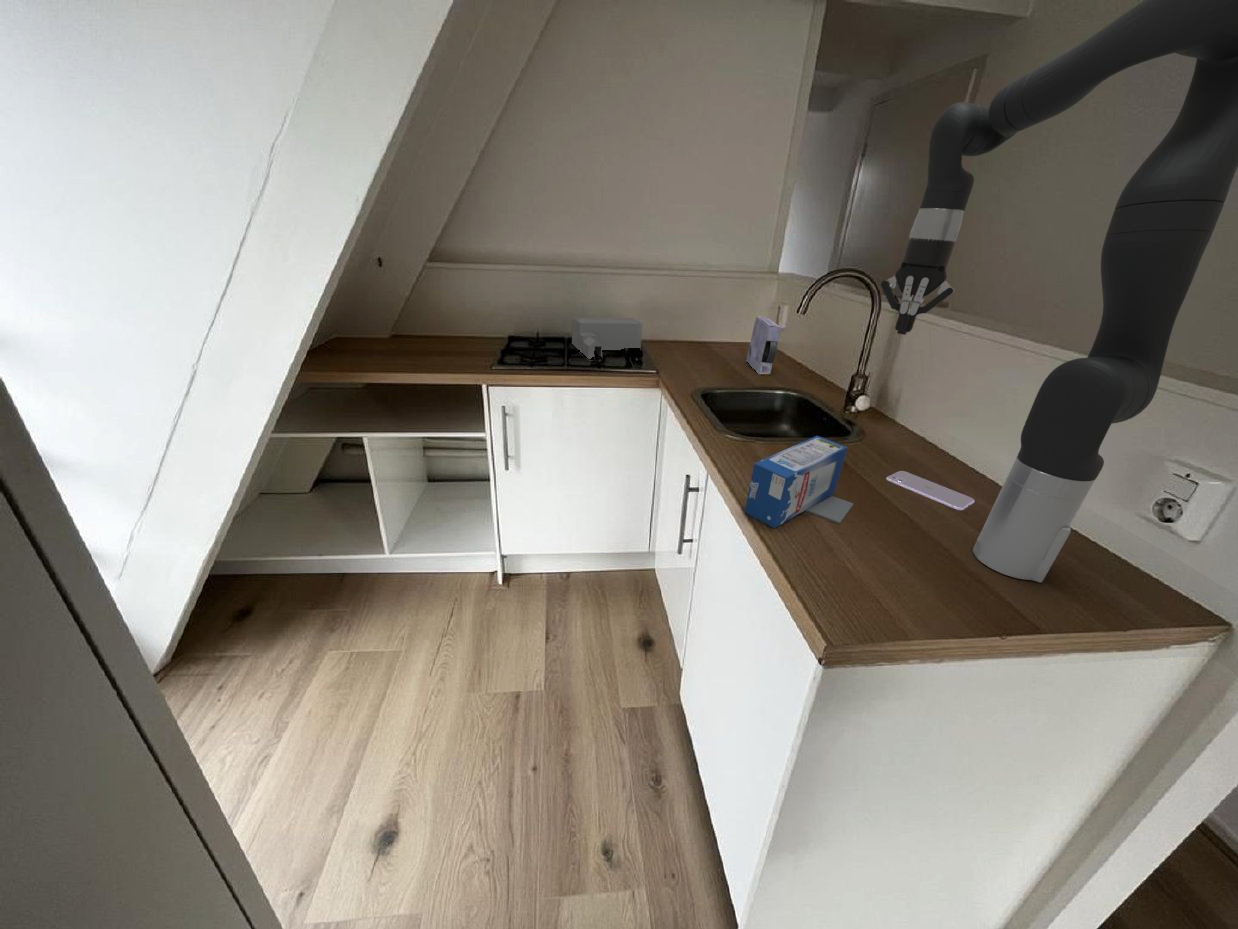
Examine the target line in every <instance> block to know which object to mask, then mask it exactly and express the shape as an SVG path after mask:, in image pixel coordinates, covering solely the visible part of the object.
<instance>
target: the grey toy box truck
mask: <svg viewBox="0 0 1238 929" xmlns="http://www.w3.org/2000/svg"><path fill="white" fill-rule="evenodd" d="M571 323H572V329H571V345H572V344H573V345H574V346H575V347H576V348H577V349H578V350H580V352H581V353H583V354H584V355H585V356H586V357H587V358H588V359H591V358H592V357H594V358H595V354H594V351H596V352H597V353H598V355H599V356H601V357H602V358H603V352H602V350H621V349H624V348H640V349H641V346H642V334H643V323H642V322H640V321H638V320H637V319H635V318H634V317H633V318H630V317H629V318H628V317H626V318H625V317H580V316H579V317H578V316H577V317H575V316H574V317H572V322H571ZM580 352H579V353H580ZM581 353H580V354H581ZM587 358H586V359H587ZM588 359H587V360H588Z"/></svg>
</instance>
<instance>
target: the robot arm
mask: <svg viewBox="0 0 1238 929" xmlns="http://www.w3.org/2000/svg"><path fill="white" fill-rule="evenodd" d="M1171 54H1177V55H1180V56H1184V57H1189V58H1194V59H1196V61H1195V67H1194V71H1193V75H1192V78H1191V81H1190V83H1189V86H1188V90H1187V93H1186V95H1185V99H1184V101H1183V103H1182V107H1181V109H1180V111H1179V113H1178V115H1177V117H1176V119H1175V121H1174V123H1173V125H1172V126H1171V128H1170V129H1169V131H1168V132H1167V133H1166V135H1165V136H1164V138H1163V139H1162V140H1161V141H1160V142H1159V144H1158V145H1157V146H1156V147H1155V148H1154V150H1153V151H1152V152H1151V153H1150V154H1149V155H1148V156H1147V158H1146V159H1145V160H1144V161H1143V162H1142V164H1141V165H1140V166H1139V167H1138V168H1137V170H1136V171H1135V173H1134V174H1133V175H1132V176H1131V178H1130V179H1129V180H1128V182H1127V183H1126V185H1125V186H1124V188H1123V190H1122V191H1121V193H1120V195H1119V197H1118V200H1117V202H1116V204H1115V207H1114V211H1113V213H1112V217H1111V219H1110V222H1109V225H1108V228H1107V231H1106V234H1105V238H1104V240H1103V245H1102V249H1101V253H1100V255H1101V256H1100V277H1101V278H1100V280H1101V291H1102V302H1103V304H1102V316H1101V322H1100V324H1099V328H1098V331H1097V333H1096V336H1095V340H1094V341H1093V344H1092V346H1091V349H1090V351H1089V353H1088V355H1087V357H1078V358H1073V359H1071V360H1068V361H1065V362H1063V363H1061V364H1059V365H1058V366H1056V367H1055V368H1054V369H1052V371H1051V372H1050V373H1049V374H1048V375H1047V376H1046V378H1045V379H1044V381H1043V382H1042V384H1041V385H1040V387H1039V389H1038V392H1037V394H1036V396H1035V398H1034V401H1033V403H1032V405H1031V408H1030V411H1029V413H1028V415H1027V418H1026V420H1025V422H1024V425H1023V428H1022V430H1021V434H1020V449H1019V451H1018V454H1017V456H1016V457H1015V460H1014V461H1013V464H1012V466H1011V468H1010V471H1009V472H1008V475H1007V477H1006V479H1005V481H1004V483H1003V485H1002V487H1001V489H1000V491H999V493H998V495H997V498H996V500H995V501H994V503H993V506H992V508H991V510H990V512H989V514H988V517H987V518H986V521H985V523H984V525H983V527H982V530H981V531H980V533H979V535H978V537H977V539H976V542H975V543H974V544H975V545H974V546H973V549H972V553H973V554H974V556H975V558H976V559H977V560H978V561H979V562H981V564H984V565H985V566H987V567H988V568H990V569H991V570H993V571H996V572H998V573H1000V574H1002V575H1005V576H1009V577H1011V578H1015V579H1021V580H1026V581H1033V582H1037V583H1042V584H1043V581H1044V580H1045V578H1046V576H1047V574H1048V573H1049V570H1050V569H1051V567H1052V565H1053V564H1054V562H1055V560H1056V558H1057V557H1058V555H1059V553H1060V551H1061V550H1062V548H1063V546H1064V544H1065V543H1066V541H1067V539H1068V538H1069V536H1070V535H1071V533H1072V530H1071V529H1072V528H1071V524H1072V522H1073V521H1074V518H1075V517H1076V515H1077V513H1078V511H1079V509H1080V508H1081V506H1082V504H1083V502H1084V500H1085V499H1086V497H1087V495H1088V494H1089V492H1090V490H1091V489H1092V487H1093V485H1094V483H1095V481H1096V480H1097V478H1098V476H1099V475H1100V473H1101V471H1102V469H1103V467H1104V465H1105V461H1104V458H1103V457H1102V455H1101V454H1100V453H1099V451H1100V448H1101V446H1102V443H1103V441H1104V439H1105V438H1106V436H1107V434H1108V432H1109V429H1110V428H1111V425H1112V424H1119V423H1122V422H1126V421H1128V420H1131V419H1133V418H1135V417H1136V416H1138V415H1140V414H1141V413H1142V412H1143V411H1144V410H1145V409H1146V408H1147V407H1148V406H1149V405H1150V404H1151V402H1152V401H1153V399H1154V397H1155V395H1156V393H1157V389H1158V386H1159V382H1160V380H1161V375H1162V371H1163V368H1164V361H1165V359H1166V354H1167V351H1168V350H1167V349H1168V347H1169V343H1170V339H1171V336H1172V332H1173V328H1174V325H1175V322H1176V320H1177V317H1178V314H1179V312H1180V310H1181V307H1182V305H1183V303H1184V301H1185V299H1186V296H1187V294H1188V291H1189V289H1190V288H1191V284H1192V282H1193V279H1194V277H1195V275H1196V273H1197V270H1198V267H1199V264H1200V262H1201V261H1202V257H1203V256H1204V253H1205V251H1206V248H1207V246H1208V245H1209V242H1210V239H1211V237H1212V235H1213V232H1214V230H1215V227H1216V225H1217V223H1218V220H1219V218H1220V216H1221V213H1222V210H1223V209H1224V206H1225V203H1226V200H1227V197H1228V194H1229V191H1230V188H1231V185H1232V182H1233V179H1234V177H1235V175H1236V172H1237V169H1238V0H1142V1H1140V2H1139V3H1137V4H1136V5H1133V7H1132V8H1130V9H1128V10H1127V11H1126V12H1124V13H1123V14H1121V15H1120V16H1119V17H1117V18H1116V19H1114V20H1113V21H1111V22H1110V23H1108V24H1106V26H1104V27H1103V28H1101V29H1100V30H1099V31H1096V33H1093V34H1092V35H1091V36H1090V37H1088V38H1087V39H1085V40H1084V41H1082V42H1081V43H1079V44H1077V45H1076V46H1074V47H1072V48H1071V49H1069V50H1067V51H1066V52H1064V53H1062V54H1061V55H1059V56H1057V57H1055V58H1054V59H1051V60H1050V61H1048V62H1046V63H1044V64H1042V65H1041V66H1038V67H1037V68H1034V69H1032V70H1031V71H1029V72H1027V73H1025V74H1023V75H1022V76H1020V77H1018V78H1016V79H1015V80H1013V81H1011V82H1009V83H1007V84H1006V85H1005V86H1003V87H1002V88H1001V89H1000V90H999V91H998V92H997V93H995V95H994V97H993V98H992V100H991V103H990V105H982V104H978V103H977V104H976V103H971V102H964V101H963V102H962V101H961V102H959V101H958V102H955V103H952V104H951V105H949V106H948V107H947V108H946V109H944V110H943V112H942V113H941V114H940V115H939V117H938V118H937V120H936V121H935V124H933V125H934V126H933V127H932V131H931V133H930V138H929V146H928V161H927V163H928V165H927V183H926V187H925V191H924V193H923V197H922V200H921V203H920V206H919V209H918V211H917V212H918V213H917V215H916V216H915V219H914V223H913V225H912V228H911V230H910V232H909V237H908V241H907V244H906V247H905V251H904V254H903V258H902V261H901V264H900V266H899V268H897V270H896V272H895V273H894V275H893V276H892V277H890V278H888V279H885V280H882V281H881V282H880V286H881V288H882V291H883V293H884V295H885V298H886V299H887V302H888V304H889V306H890V308H891V310H895V311H897V312H898V318H897V321H896V324H895V327H894V328H895V331H897V332H896V333H897V334H898V335H905V336H906V335H907V334H908V333H910V332H911V331H912V330H913V328H914V325H915V322H916V318H917V316H918V315H921V314H927V313H928V312H930V311H931V310H933V309H934V308H935V307H937V306H938V305H939V304H940V303H942V302H943V301H944V300H946V299H947V298H948V297H950V296H952V295H953V294H954V293H955V292H956V291H955V290H956V289H955V287H953V286H951V285H950V284H949V282H947V281H946V280H947V278H948V277H947V268H948V265H949V262H950V259H951V256H952V253H953V251H954V247H955V245H956V242H957V238H958V236H959V232H960V229H961V227H962V223H963V219H964V218H963V217H964V214H965V210H966V208H967V204H968V201H969V198H970V195H971V193H972V189H973V186H974V183H975V177H974V175H973V174H972V173H970V171H967V170H966V169H965V168H964V167H963V157H978V156H981V155H984V154H987V153H989V152H992V151H993V150H995V149H997V148H998V147H1000V146H1001V145H1002V144H1004V143H1005V142H1006V141H1008V140H1010V139H1011V138H1012V137H1014V136H1015V135H1016V134H1018V133H1019V132H1020V131H1021V132H1022V131H1023V130H1026V129H1028V128H1031V127H1033V126H1035V125H1038V124H1040V123H1042V122H1044V121H1047V120H1048V119H1051V118H1054V117H1055V116H1057V115H1059V114H1061V113H1063V112H1065V111H1067V110H1069V109H1070V108H1072V107H1073V106H1075V105H1076V104H1077V103H1079V102H1080V101H1081V100H1083V99H1084V98H1085V97H1086V96H1087V95H1089V94H1090V93H1091V92H1092V91H1093V90H1094V89H1095V88H1096V87H1098V86H1099V85H1100V84H1101V83H1103V82H1104V81H1106V80H1108V79H1109V78H1110V77H1112V76H1114V75H1116V74H1118V73H1120V72H1122V71H1124V70H1126V69H1128V68H1130V67H1133V66H1136V65H1139V64H1142V63H1145V62H1148V61H1150V60H1153V59H1158V58H1161V57H1164V56H1168V55H1171ZM896 282H897V284H896ZM897 285H898V287H899V290H900V292H901V293H902V298H901V302H900V300H899V298H898V296H897V294H896V292H895V290H894V289H895V288H896V286H897ZM938 288H939V289H938ZM937 289H938V290H937ZM935 290H937V294H938V295H937V296H936V297H935V298H933V299H932V300H930V301H929V302H928V303H926V304H925V305H923V304H922V303H923V302H924V300H925V297H927V296H929V295H930V294H932V293H933V292H934V291H935ZM913 297H914V298H913ZM912 300H913V301H912ZM911 304H912V305H911ZM922 305H923V306H922Z"/></svg>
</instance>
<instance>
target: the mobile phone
mask: <svg viewBox="0 0 1238 929" xmlns="http://www.w3.org/2000/svg"><path fill="white" fill-rule="evenodd" d="M885 479H886V481H888V482H891V483H892V484H895V485H897V486H900V487H902V488H904V489H906V490H910V491H912V492H913V493H915V494H919V495H922V496H923V497H925V498H928V499H930V500H933V501H934V502H938V503H939V504H941V505H942V504H943V505H945V506H946V507H949V508H952V509H954V510H957V511H963V510H966V509H967V508H968V507H969V506H971V505H973V504H974V503H975V499H974V498H973V497H971V496H969V495H966V494H963V493H960V492H958V491H955V490H954V489H950V488H947V487H945V486H943V485H940V484H939V483H936V482H933V481H930V480H928V479H926V478H923V477H921V476H919V475H916V474H913V473H910V472H908V471H904V470H899V471H897V472H895V473H893V474H890V475H888V476H887V477H886V478H885Z"/></svg>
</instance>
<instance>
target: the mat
mask: <svg viewBox="0 0 1238 929" xmlns="http://www.w3.org/2000/svg"><path fill="white" fill-rule="evenodd" d="M853 506H854V503H853V502H851V501H847V500H844V499H842V498H839V497H836V496H834V495H830V496H828V497H827V498H825V499H823V500H822V501H820V502H818V503H817V504H815V505H813V506H812V507H810V508H808V509H806V510H805V511H804V512H806V513H808V514H811V515H813V516H816V517H819V518H821V519H825V520H827V521H829V522H832V523H834V524H837V525H841V523H842V521H843V520H844V518H845V517H846V516H847V514H848V513H849V512H850V511H851V509H852V508H853Z"/></svg>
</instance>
